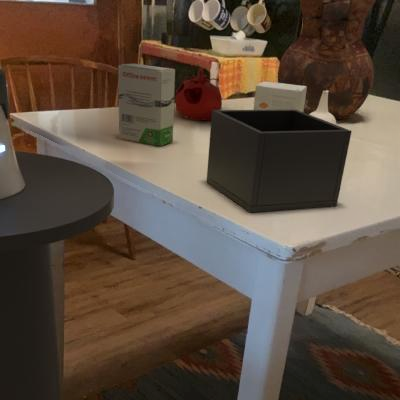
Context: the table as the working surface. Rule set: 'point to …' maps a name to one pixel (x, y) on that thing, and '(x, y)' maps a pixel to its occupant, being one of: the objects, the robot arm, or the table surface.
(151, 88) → the ink box
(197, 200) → the table surface
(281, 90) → the small box
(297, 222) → the table surface
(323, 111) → the garlic bulb
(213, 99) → the pomegranate
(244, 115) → the trash bin
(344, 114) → the brown curved lobed piece
